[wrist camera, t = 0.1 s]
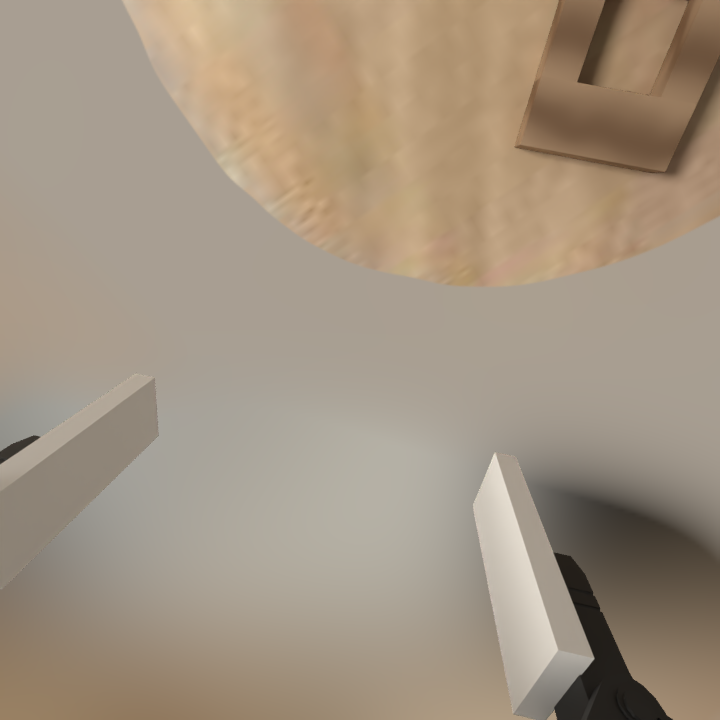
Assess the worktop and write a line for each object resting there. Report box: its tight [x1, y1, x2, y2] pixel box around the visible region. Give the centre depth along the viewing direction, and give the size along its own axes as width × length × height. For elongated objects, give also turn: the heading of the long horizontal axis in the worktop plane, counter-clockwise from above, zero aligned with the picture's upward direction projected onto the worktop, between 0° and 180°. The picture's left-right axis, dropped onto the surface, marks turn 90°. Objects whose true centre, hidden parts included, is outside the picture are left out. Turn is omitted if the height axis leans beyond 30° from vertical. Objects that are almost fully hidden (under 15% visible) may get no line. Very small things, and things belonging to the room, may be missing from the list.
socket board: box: [515, 0, 720, 173], centre depth 29 cm, size 16×12×2 cm
